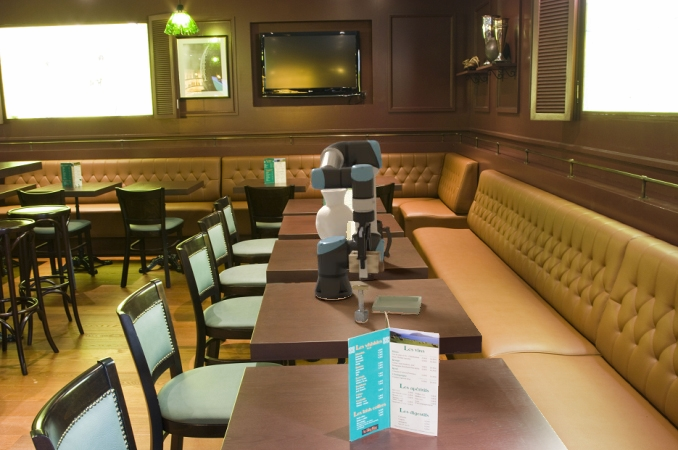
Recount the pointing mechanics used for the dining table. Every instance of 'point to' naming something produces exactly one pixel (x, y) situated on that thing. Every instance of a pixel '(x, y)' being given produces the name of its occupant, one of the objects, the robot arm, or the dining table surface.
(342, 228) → the vase
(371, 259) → the slotted wooden block
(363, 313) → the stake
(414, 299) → the tray
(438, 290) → the dining table surface
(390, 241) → the beer stein
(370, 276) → the box
